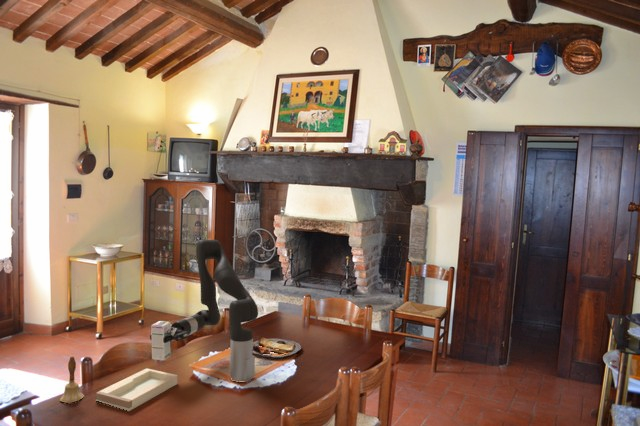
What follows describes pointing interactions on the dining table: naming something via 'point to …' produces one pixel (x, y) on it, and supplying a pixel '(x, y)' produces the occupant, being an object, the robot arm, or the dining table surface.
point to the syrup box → (160, 340)
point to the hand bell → (71, 385)
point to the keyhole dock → (136, 389)
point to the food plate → (275, 347)
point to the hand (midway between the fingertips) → (157, 339)
